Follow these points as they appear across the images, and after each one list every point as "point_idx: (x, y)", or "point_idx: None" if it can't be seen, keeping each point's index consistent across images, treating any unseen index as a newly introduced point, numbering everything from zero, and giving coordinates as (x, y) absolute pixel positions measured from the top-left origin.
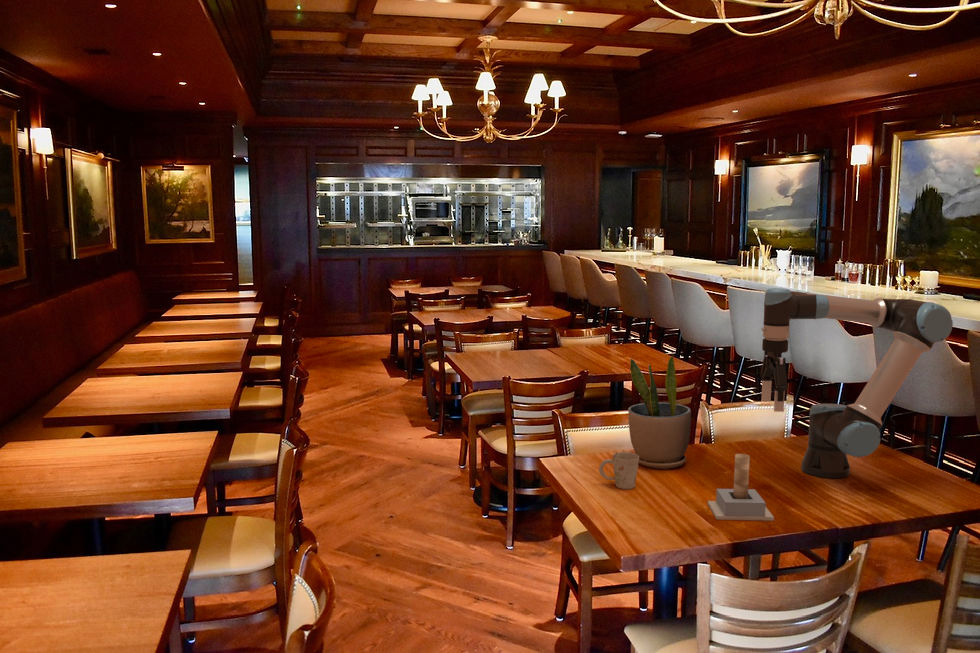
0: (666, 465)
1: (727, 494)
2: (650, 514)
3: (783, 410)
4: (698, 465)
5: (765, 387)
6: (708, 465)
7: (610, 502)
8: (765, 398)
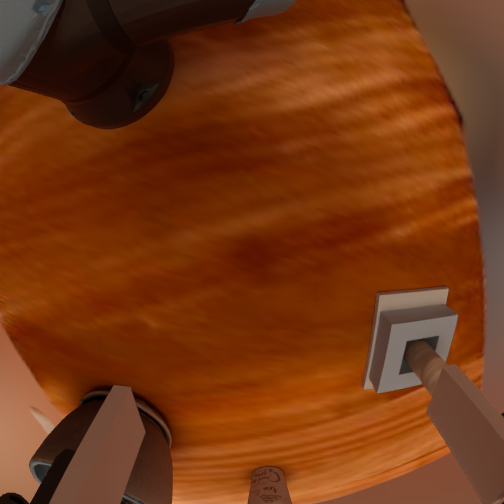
0: (169, 430)
1: (409, 376)
2: (386, 444)
3: (458, 369)
4: (120, 366)
5: (109, 498)
6: (114, 347)
7: (336, 480)
8: (134, 428)
